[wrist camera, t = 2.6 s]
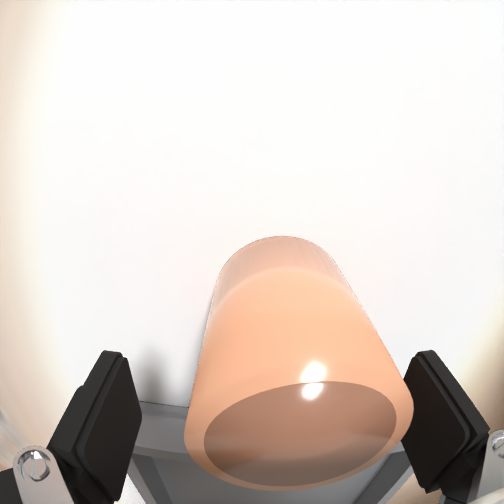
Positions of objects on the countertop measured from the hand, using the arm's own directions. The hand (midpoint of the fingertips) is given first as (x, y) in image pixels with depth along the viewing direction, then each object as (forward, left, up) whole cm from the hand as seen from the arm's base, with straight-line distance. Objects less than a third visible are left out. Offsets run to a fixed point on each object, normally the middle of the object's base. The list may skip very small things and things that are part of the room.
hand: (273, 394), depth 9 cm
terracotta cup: (-1, 0, -6) cm, 6 cm away
